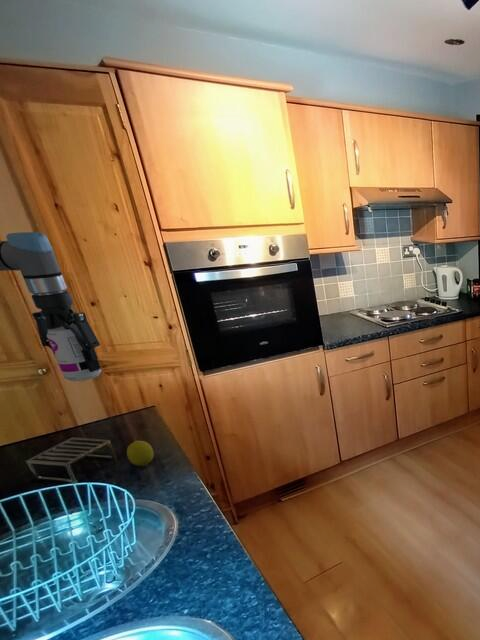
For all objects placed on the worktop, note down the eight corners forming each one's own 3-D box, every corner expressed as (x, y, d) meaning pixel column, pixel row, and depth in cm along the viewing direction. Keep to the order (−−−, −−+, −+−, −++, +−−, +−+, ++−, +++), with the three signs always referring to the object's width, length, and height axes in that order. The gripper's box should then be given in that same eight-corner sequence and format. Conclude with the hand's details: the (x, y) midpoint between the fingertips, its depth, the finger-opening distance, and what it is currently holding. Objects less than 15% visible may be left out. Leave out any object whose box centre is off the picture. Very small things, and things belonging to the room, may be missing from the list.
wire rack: (36, 483, 118) (24, 461, 115) (81, 458, 129) (72, 437, 126) (77, 487, 117) (66, 464, 114) (119, 461, 127) (110, 440, 125)
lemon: (156, 457, 129) (147, 433, 126) (158, 466, 125) (148, 441, 122) (132, 464, 126) (122, 440, 123) (133, 473, 122) (123, 448, 119)
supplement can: (65, 384, 127) (43, 333, 121) (66, 375, 133) (45, 326, 127) (102, 377, 132) (83, 328, 126) (102, 369, 138) (83, 321, 132)
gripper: (97, 290, 125) (125, 366, 134) (29, 288, 127) (61, 363, 136) (71, 296, 118) (102, 376, 127) (-1, 294, 120) (35, 372, 129)
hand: (81, 369), depth 132 cm, fingers closed on supplement can, 8 cm apart
